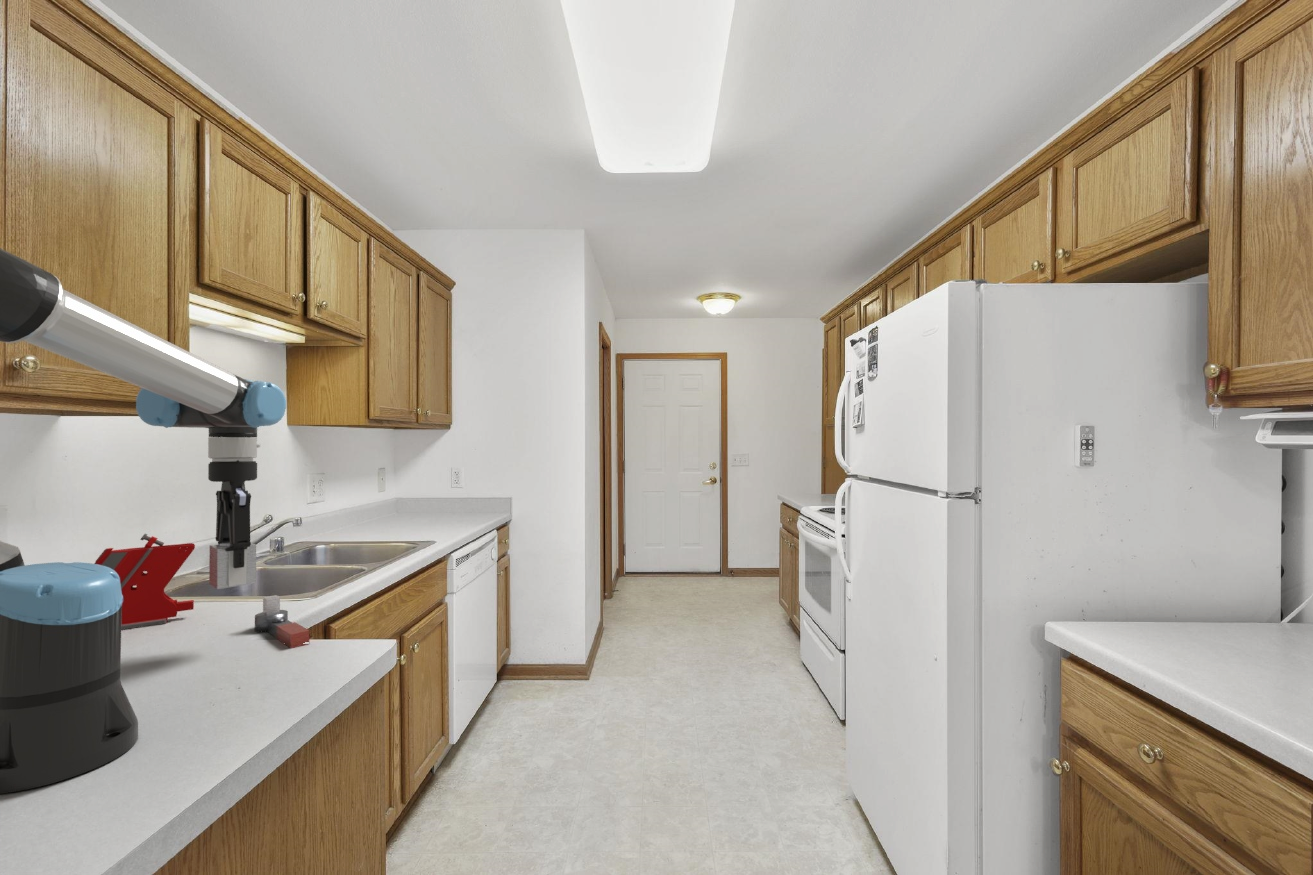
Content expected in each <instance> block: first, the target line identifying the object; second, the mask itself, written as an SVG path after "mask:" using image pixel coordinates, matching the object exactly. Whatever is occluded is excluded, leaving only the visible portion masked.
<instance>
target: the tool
mask: <svg viewBox="0 0 1313 875" xmlns="http://www.w3.org/2000/svg"><path fill="white" fill-rule="evenodd" d="M140 540H141V541H144V540H145V541H147V542H146V543H145V545H144V547H143V546H142V547H131V548H122V549H121V548H120V549H114V547H108V548H105V549H104V550H103V551H102V552H101V554H100V555H99V556H98V557H97V558H96V560H95V562H94V563H93V564H98V565H103V566H106V567H109V568H111V569H113V570H114V571H115V572H116V573H117V574H118V575H119V578H120V584H121V591H122V595H123V602H122V620H121V631H124V630H132V629H137V628H138V629H139V628H146V627H153V626H158V625H165V624H167V622H168V619H170V618H176V617H177V615H178V612H183V611H184V612H185V611H191V610H194V607H195V605H194V604H195V603H194V599H191V600H183V601H178V599H173V598H172V597H171V596H169V594H168V595H167V593H166V592H165V589H166V587H167V586H168V585H169V583H170V582H171V580H172V579H173V578H174V576H175V575H176V574H177V573H178V571H179V570H180V568H181V567H182V566H183V565H184V563H185V562H186V561H187V560H188V558H189V557H190V556H191V554H192V552H193V551H194V550H195V548H196V545H195V544H194V543H193V542H192V543H191V542H190V543H178V544H167V545H166V544H165V542H163V541H161V540H158V538H157V537H155V536H154V535H153V536H151V537H150V536H148V534H147V533H144V534H143V535H142V536H141V538H140ZM154 544H155V545H156V546H155V545H154ZM164 544H165V545H164ZM153 545H154V546H153ZM145 572H146V573H145Z"/></svg>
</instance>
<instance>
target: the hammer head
mask: <svg viewBox="0 0 1313 875" xmlns="http://www.w3.org/2000/svg"><path fill="white" fill-rule="evenodd" d="M227 547H230V542H225V543H221V544H218V543H217V544H211V545H209V566H208V567H209V570H208V571H209V580H208V581H209V585H210V586H212V588H215V589H217V590H221V589H226V588H227V589H228V588H233V587H240V586H246V585H248V586H249V585H252V584H257V544H255V543H253V542H251V545H250V547H247V563H246V584H243V585H236V586H228V551H225V549H226V548H227Z"/></svg>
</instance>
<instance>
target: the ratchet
mask: <svg viewBox="0 0 1313 875" xmlns="http://www.w3.org/2000/svg"><path fill="white" fill-rule="evenodd" d="M288 612H289V611H288V610H287V609H281V597H280V596H279V595H278V594H277V595H276V594H274V595H270V596H264V597H262V612H258V613H257V614H254V632H256V633H268V634H269V635H271V636H273V637H274V638H276V640H278V641H279V642H280V643H282V644H283V643H285V644H284V645H285V646H286V647H289V649H294V648H297V647H302V646H307V645H308V644H303V643H305V642H309V643H310V630H309V628H306V627H304V626H303V625H301V624H299V623H297V622H295V621H294V622H292V621H290V620H288V619H289V618H288V616H289V613H288Z"/></svg>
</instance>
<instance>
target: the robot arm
mask: <svg viewBox="0 0 1313 875" xmlns="http://www.w3.org/2000/svg"><path fill="white" fill-rule="evenodd" d="M0 342H2V343H5V344H15V343H19V342H26V343H27V344H30V345H33V346H36V347H37V348H40V349H42V350H46V351H48V352H50V353H53V354H55V355H58V356H61V357H63V358H66V359H68V360H71V361H74V362H76V363H77V364H78V363H79V364H81V365H82V366H86V367H88V368H90V369H94V370H96V371H98V372H101V373H103V374H106V375H109V376H111V377H114V378H117V379H119V380H121V381H124V382H126V383H128V384H131V385H134V386H137V387H139V388H140V390H139V391H138V393H137V395H136V399H135V405H136V406H135V410H136V412H137V415H138V417H139V419H140V420H141V421H142V422H143V423H145V424H147V425H148V426H149V425H150V426H152V427H164V428H166V429H167V428H188V429H189V428H193V429H194V428H199V429H200V428H203V429H208V438H207V439H208V442H207V445H208V448H207V449H208V450H207V451H208V452H207V453H208V455H207V456H208V458H209V459H211V460H212V461H210V462H209V463H208V474H207V478H208V480H209V481H210V482H213V483H215V482H216V483H218V482H220V483H221V487H220V490H216V492H215V496H216V521H215V522H216V525H215V526H216V527H215V541H216V542H217V545H218V544H221V543H225V542H230V547H227V548H226V549H225V551H228V586H235V587H237V586H236V585H241V586H244V585H243V584H246V563H247V547H250V545H251V543H252V542H251V499H252V495H251V493H250V492H248V490H246V484H245V482H246V481H247V482H251V481H255V480H257V479H258V462H257V461H256V460H254V459H256V458H257V457H258V448H260V447H261V443H260V442H258V428H259V427H268V426H272V425H276V424H278V423H279V422H280V421H281V420H283V419H282V418H283V417H285V416H284V415H286V414H285V412H286V409H287V399H286V395H285V393H284V392H283V390H282V389H281V388H280V387H279V386H278V385H277V384H275V383H273V382H268V381H261V380H255V381H253V380H251V379H247V378H246V379H245V378H242V377H240V376H238V375H237V374H234V373H232V372H230V371H228V370H226V369H224V368H222V367H220V366H218V365H216V364H214V363H212V362H210V361H208V360H207V359H204V358H202V357H200V356H199V355H196V354H194V353H191V352H190V351H188V350H186V349H184V348H182V347H180V346H179V345H176V344H174V343H172V342H170V341H167V340H166V339H163V338H162V337H160V336H158V335H156V334H154V333H151V332H150V331H147V330H146V329H144V328H142V327H140V326H138V325H136V324H134V323H131V322H130V321H129V320H125V319H124V318H121V317H120V316H118V315H116V314H115V313H112V312H110V311H108V310H106V309H104V308H102V307H100V306H98V305H96V304H94V303H91V302H90V301H88V300H86V299H84V298H81V297H79V296H78V295H76V294H73V293H72V292H70V291H68V290H65V289H64V288H63V286H62V282H61V281H60V279H59V278H58V277H57V276H56V275H54V274H53V273H51V272H49V271H47V270H45V269H43V268H41V267H39V266H37V265H35V264H33V263H32V262H29V261H27V260H26V259H24V258H21V257H19V256H17V255H15V254H13V253H11V252H9V251H7V250H5V249H2V248H0ZM122 602H123V595H122V591H121V584H120V578H119V575H118V574H117V573H116V572H115V571H114V570H113V569H111V568H109V567H106V566H103V565H98V564H94V563H91V562H80V561H79V562H78V561H75V562H74V561H73V562H59V561H58V562H43V563H33V564H25V562H24V559H23V556H22V554H21V550H20V548H19V547H18V546H16V545H13V544H10V543H7V542H4V541H1V540H0V794H8V792H9V793H15V792H20V791H27V790H31V789H36V788H40V787H42V786H47V785H50V784H51V785H52V784H54V783H55V784H56V783H57V782H61V781H65V780H68V779H70V778H72V777H78V776H79V775H82V774H84V773H87V772H89V771H92V770H94V769H97V768H99V767H102V766H103V765H106V764H108V763H109V762H111V761H113V760H115V759H117V758H119V757H121V756H122V755H123V754H125V753H126V752H128V751H129V750H131V748H133V746H134V745H136V743H137V741H138V739H139V720H138V717H137V715H136V713H135V711H134V709H133V706H132V704H131V702H130V700H129V697H128V696H127V693H126V692H125V689H124V687H123V685H122V682H121V679H122V678H121V662H122V660H121V659H122V658H121V657H122V655H121V654H122V652H121V650H122V648H121V647H122V630H121V620H122Z"/></svg>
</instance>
